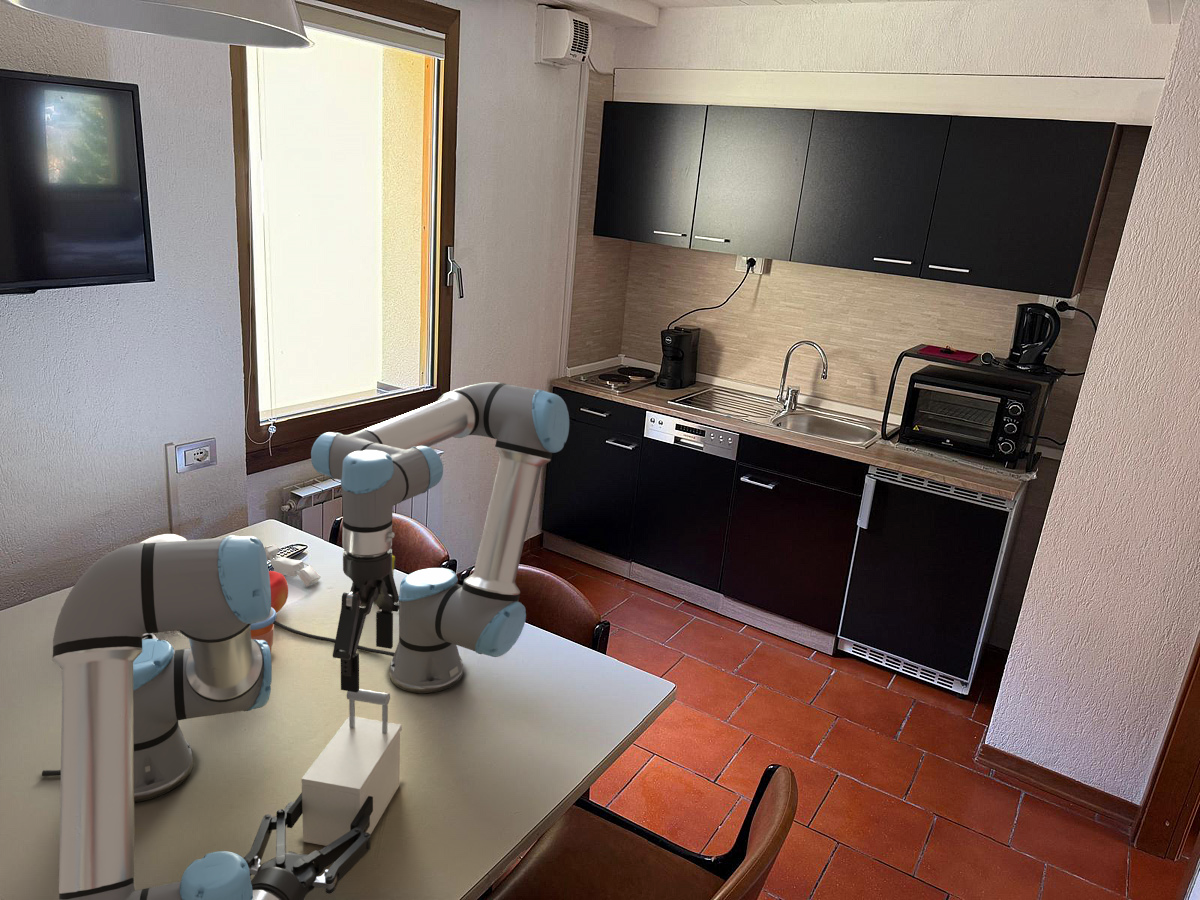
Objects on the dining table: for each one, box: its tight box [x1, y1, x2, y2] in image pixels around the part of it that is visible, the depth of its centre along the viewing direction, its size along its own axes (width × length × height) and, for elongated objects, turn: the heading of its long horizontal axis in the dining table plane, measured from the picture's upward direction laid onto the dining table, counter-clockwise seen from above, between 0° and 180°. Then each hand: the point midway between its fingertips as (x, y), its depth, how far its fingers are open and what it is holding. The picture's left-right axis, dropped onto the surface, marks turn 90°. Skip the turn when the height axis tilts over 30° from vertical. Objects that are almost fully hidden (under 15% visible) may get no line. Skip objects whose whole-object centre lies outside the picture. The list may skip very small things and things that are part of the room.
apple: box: [269, 571, 289, 614], centre depth 199 cm, size 10×10×10 cm
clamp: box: [264, 544, 322, 587], centre depth 219 cm, size 20×4×7 cm, turn 62°
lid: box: [300, 688, 403, 795], centre depth 138 cm, size 17×10×8 cm, turn 171°
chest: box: [301, 732, 401, 847], centre depth 140 cm, size 16×10×11 cm, turn 171°
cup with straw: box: [250, 607, 278, 654], centre depth 180 cm, size 9×9×18 cm
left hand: (339, 797), depth 135 cm, fingers closed on chest, 9 cm apart
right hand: (368, 667), depth 140 cm, fingers open, 13 cm apart
